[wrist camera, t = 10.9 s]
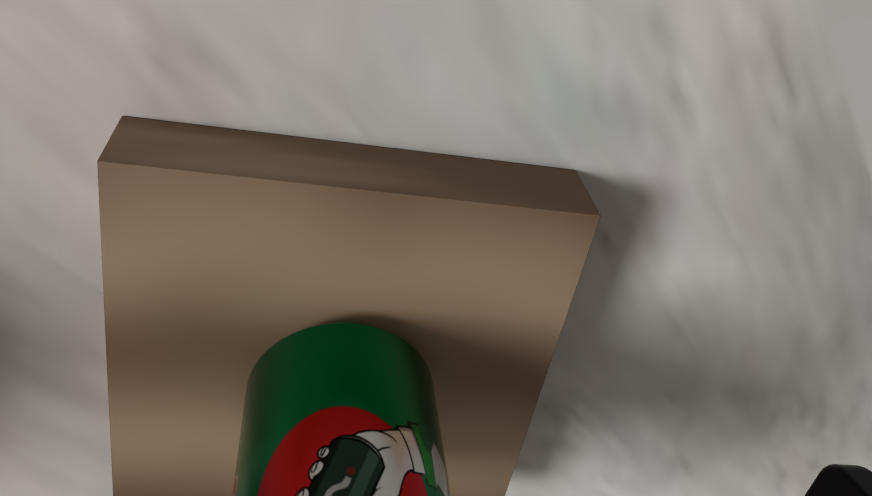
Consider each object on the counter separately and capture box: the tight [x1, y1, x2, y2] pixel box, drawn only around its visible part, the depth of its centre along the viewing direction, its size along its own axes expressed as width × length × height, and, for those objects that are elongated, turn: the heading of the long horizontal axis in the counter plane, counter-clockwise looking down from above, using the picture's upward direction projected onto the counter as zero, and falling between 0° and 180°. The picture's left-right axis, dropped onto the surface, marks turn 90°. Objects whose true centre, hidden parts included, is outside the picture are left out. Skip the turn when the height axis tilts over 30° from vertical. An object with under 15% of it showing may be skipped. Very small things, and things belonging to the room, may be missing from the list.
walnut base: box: [97, 116, 601, 496], centre depth 23 cm, size 12×12×2 cm
